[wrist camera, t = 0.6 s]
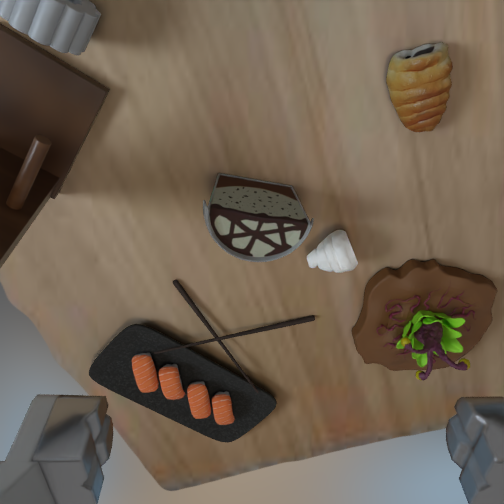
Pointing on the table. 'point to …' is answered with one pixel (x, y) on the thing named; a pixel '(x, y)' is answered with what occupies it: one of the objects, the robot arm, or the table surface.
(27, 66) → the stand
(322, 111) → the table surface
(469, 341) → the plant
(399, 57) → the pastry
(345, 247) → the white cream swirl
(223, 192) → the halved ice cream tub
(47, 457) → the robot arm
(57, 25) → the grey knurled ring
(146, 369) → the sushi plate
